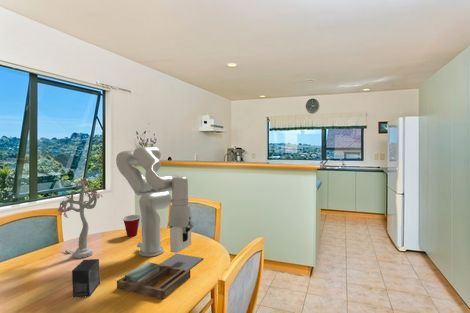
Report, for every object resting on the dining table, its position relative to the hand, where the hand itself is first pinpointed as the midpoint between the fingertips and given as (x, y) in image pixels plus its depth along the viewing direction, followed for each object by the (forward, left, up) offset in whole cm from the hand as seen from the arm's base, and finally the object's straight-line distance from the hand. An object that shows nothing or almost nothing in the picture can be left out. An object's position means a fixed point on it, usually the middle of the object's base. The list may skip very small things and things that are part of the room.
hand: (181, 240), depth 138 cm
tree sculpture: (-55, -10, -11) cm, 57 cm away
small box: (-20, -36, -11) cm, 43 cm away
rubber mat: (0, 0, -11) cm, 11 cm away
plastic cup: (-52, +25, -11) cm, 59 cm away
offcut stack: (-5, -21, -11) cm, 24 cm away
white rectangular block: (0, 0, -4) cm, 4 cm away
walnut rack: (+1, -21, -11) cm, 24 cm away
